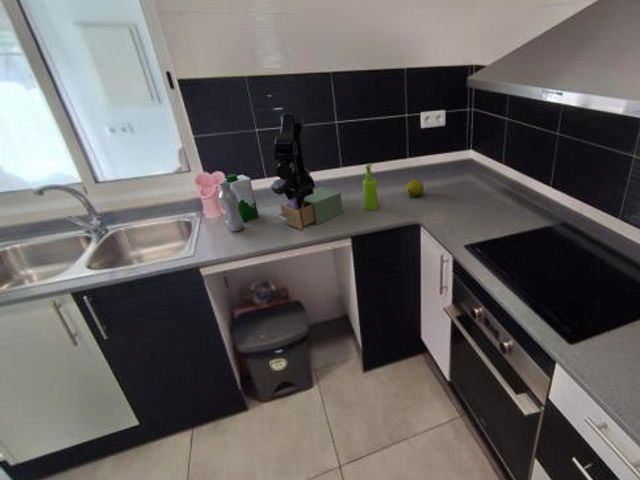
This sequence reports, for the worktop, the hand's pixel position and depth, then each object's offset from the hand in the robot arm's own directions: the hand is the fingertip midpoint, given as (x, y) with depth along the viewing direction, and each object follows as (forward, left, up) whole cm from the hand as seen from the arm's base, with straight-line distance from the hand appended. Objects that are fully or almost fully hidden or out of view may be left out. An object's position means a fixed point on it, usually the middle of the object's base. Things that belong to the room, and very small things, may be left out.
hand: (296, 206), depth 157 cm
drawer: (0, +1, -7) cm, 7 cm away
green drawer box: (0, +11, -8) cm, 14 cm away
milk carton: (-24, -10, -8) cm, 27 cm away
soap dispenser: (+13, +30, -8) cm, 34 cm away
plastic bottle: (-17, -19, -8) cm, 26 cm away
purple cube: (0, 0, -1) cm, 1 cm away
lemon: (+21, +52, -8) cm, 57 cm away
